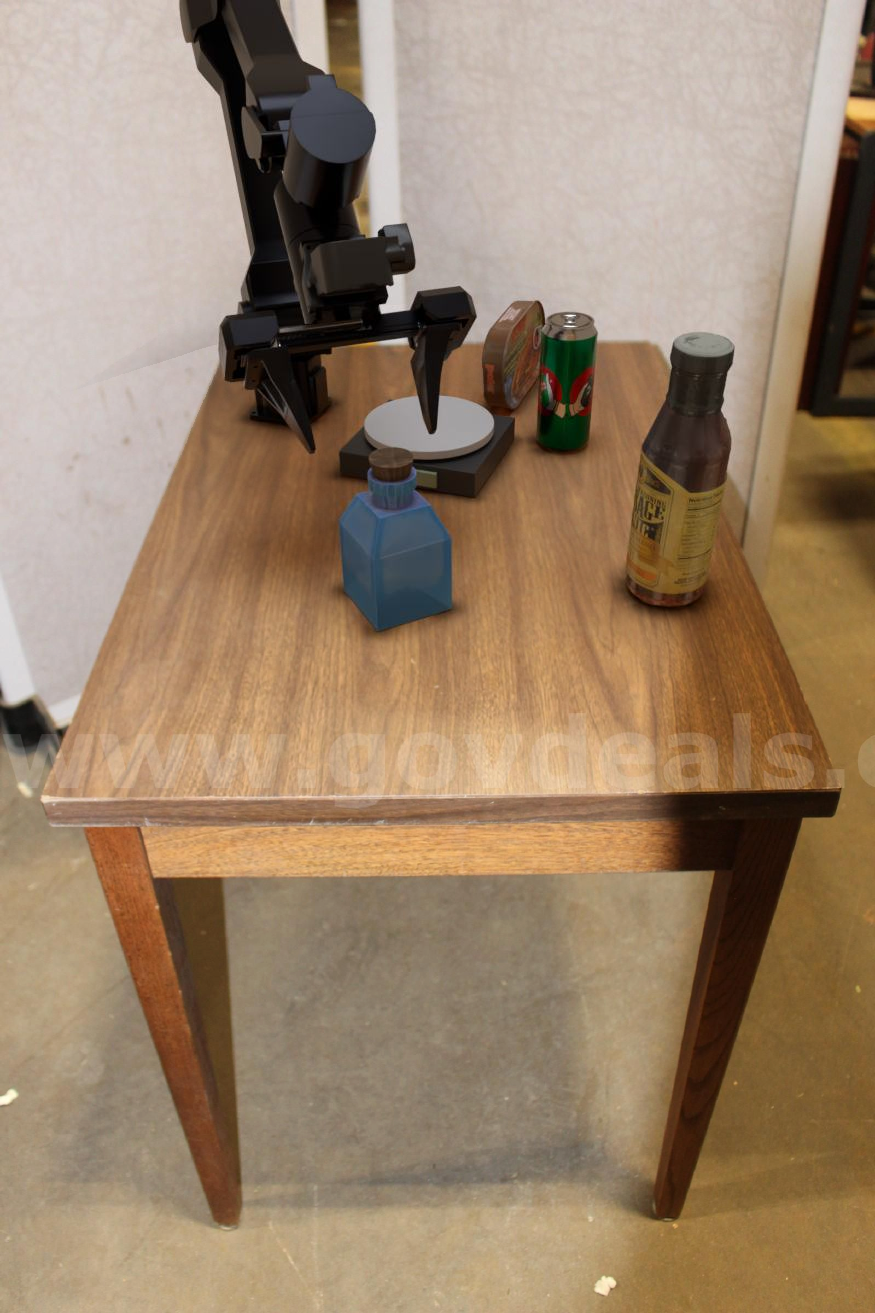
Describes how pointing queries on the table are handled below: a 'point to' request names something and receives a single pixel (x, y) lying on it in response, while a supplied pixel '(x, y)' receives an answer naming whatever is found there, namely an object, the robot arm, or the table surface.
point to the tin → (512, 354)
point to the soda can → (566, 381)
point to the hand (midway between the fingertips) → (373, 442)
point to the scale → (434, 443)
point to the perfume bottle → (395, 546)
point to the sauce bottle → (682, 476)
